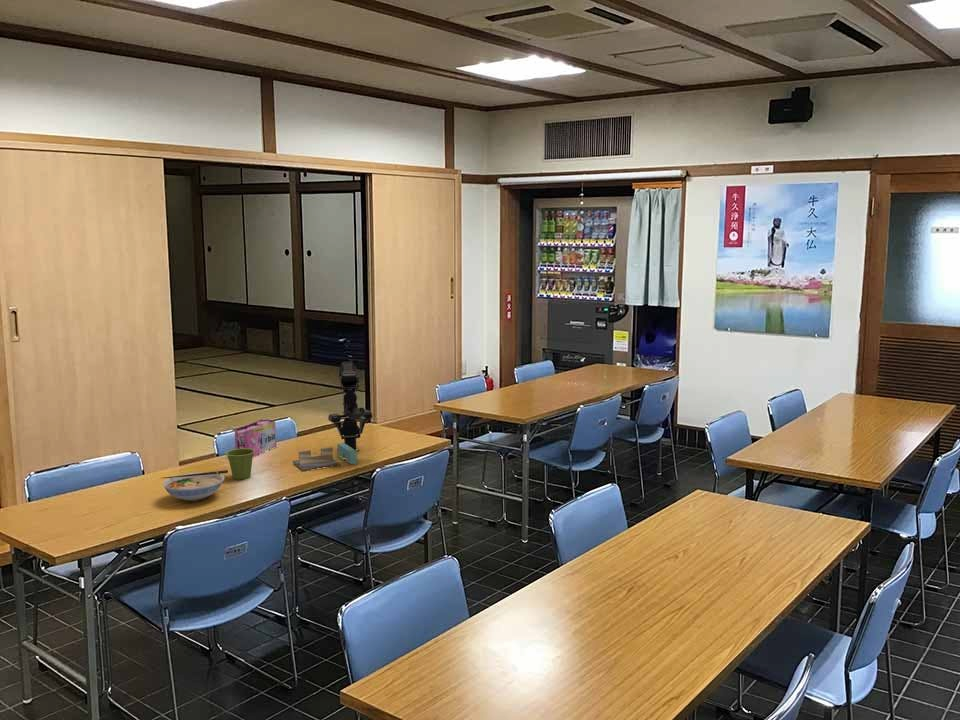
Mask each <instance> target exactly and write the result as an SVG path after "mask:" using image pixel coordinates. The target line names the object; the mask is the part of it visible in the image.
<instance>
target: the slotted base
mask: <svg viewBox="0 0 960 720" xmlns="http://www.w3.org/2000/svg"><path fill="white" fill-rule="evenodd" d="M333 449H334V447H333V446H326V447H325V446H324V447H320V454H317V455H316V454H315V455H312V450H311V449H304V450H303V449H302V450H298V459H295V460H292V464H293V463H294V465H295V466H296V465H297V466H298V467H299V468H300V469H301V470H302V471H301V470H300V469H299V468H298V467H297V466H296V467H297V468H298V469H299V470H300V471H301V472H306V471H305V470H309V471H312V470H311V469H316V470H318V469H317V468H323V467H330V468H332V467H331V466H337V465H340V466H341V463H340V462H338V461H337V460H336V459H334V450H333ZM337 467H338V466H337ZM323 469H324V468H323Z"/></svg>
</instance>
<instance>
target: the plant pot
mask: <svg viewBox="0 0 960 720" xmlns="http://www.w3.org/2000/svg"><path fill="white" fill-rule="evenodd" d="M254 452H255V450H253V449H246V448H245V449H235V448H234V449H231V450H228V451H225V455H226V456H227V460H228V462H229V467H230V471H231V475H232V478H233V480H237V481H239V480H248V479H249V478H251V476H252V475H251V474H252V466H253V459H254V457H253V454H254Z"/></svg>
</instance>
